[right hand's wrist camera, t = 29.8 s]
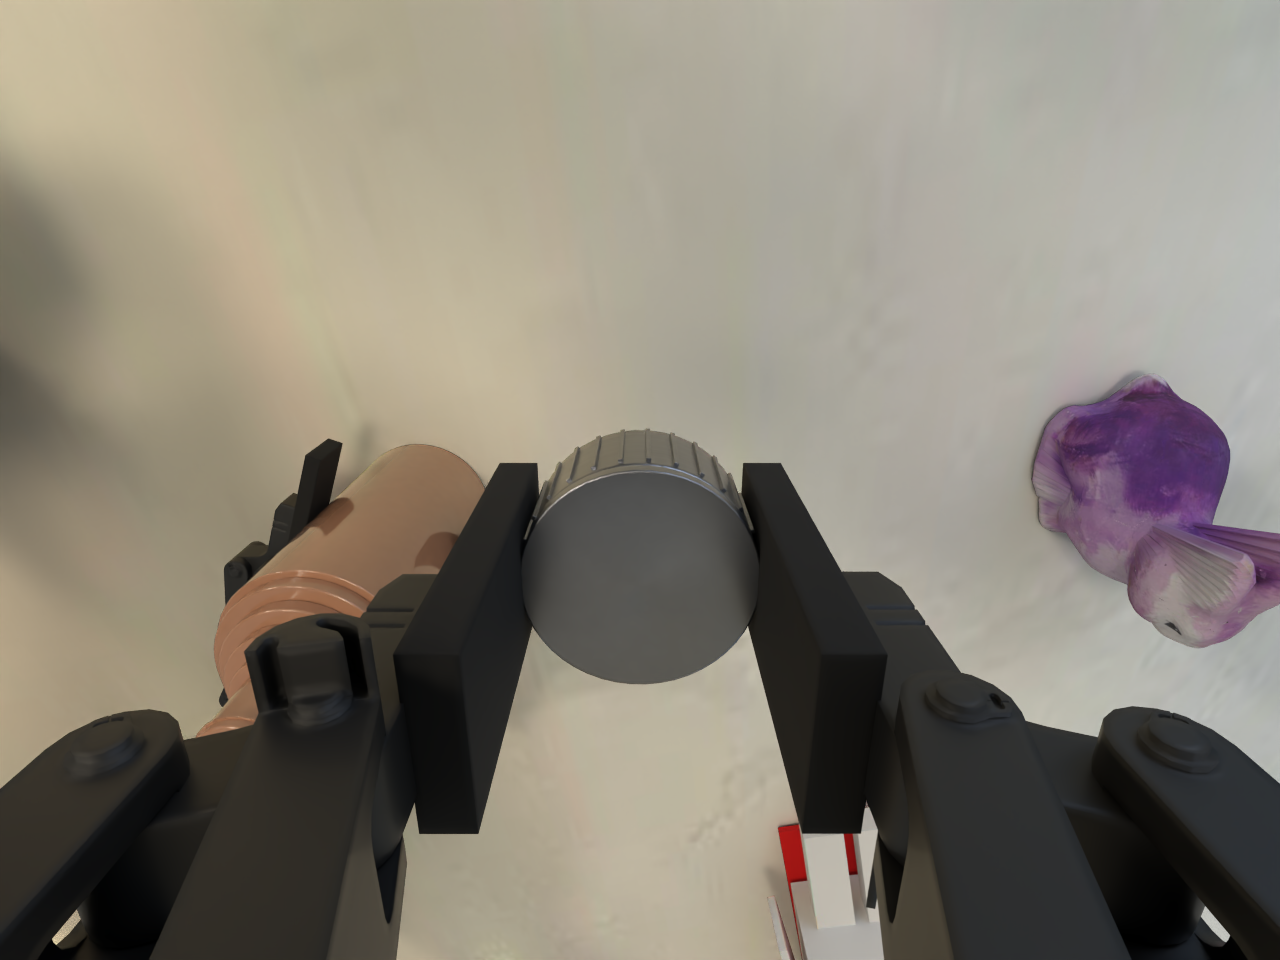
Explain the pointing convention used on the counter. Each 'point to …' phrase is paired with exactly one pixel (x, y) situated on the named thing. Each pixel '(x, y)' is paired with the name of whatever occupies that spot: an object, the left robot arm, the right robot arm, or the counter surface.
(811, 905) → the toy
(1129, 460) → the figurine
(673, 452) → the cap
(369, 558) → the tan bottle
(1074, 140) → the counter surface
